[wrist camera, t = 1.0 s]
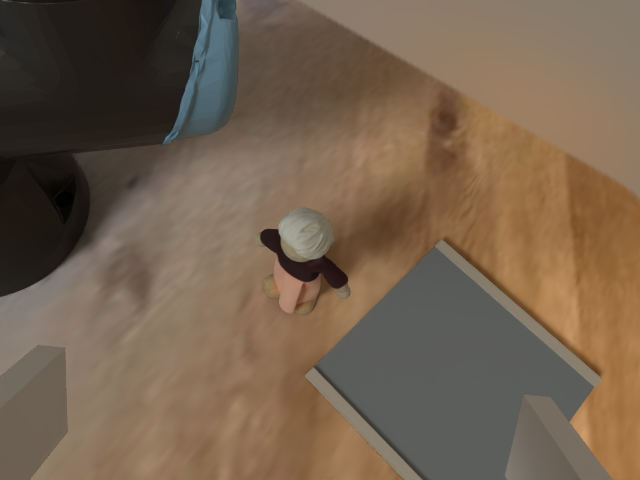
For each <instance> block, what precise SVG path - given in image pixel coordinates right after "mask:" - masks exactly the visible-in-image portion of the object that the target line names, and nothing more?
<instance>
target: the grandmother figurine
mask: <svg viewBox="0 0 640 480" xmlns="http://www.w3.org/2000/svg"><path fill="white" fill-rule="evenodd" d="M278 228H279V230H278V229H265V230H264V231H262V232H260V233H259V234H257V236H256V239H255V241H256V243H257V244H258V245H259V246H266V247H268V248H269V249H270V250H272V251H273V252H275V253H277V255H276V261H275V267H274V274H272V275H270V276H268V277H267V278H266V279H265V280H264V282H263V290H264V292H265V293H266V294H267V295H268V296H269V297H271V298H279V305H280V307H281V308H282V309H283V311H285V312H287V313H289V314H292V313H294V312H296V313H297V314H300V315H306V314H308V313H310V312H311V311H312V309H313V308H314V305H315V302H316V300H317V297H318V294H319V290H320V285H321V273H323V275H324V277H325V279H326V280H327V282H328V283H329V284H330V285H331V286H332V287H333V288H334V290H335V291H336V295H337V296H338V297H339V298H340V299H346V298H348V297H349V296H350V293H351V291H350V288H349V286H348V283H347V282H348V277H347V276H346V274H345V273H344V272H343V271H341V270H340V269H339V268H338V267H337V266H336V265H335V264H334V263H333V262H332V261H331V260H329V259H328V258H326V257H325V254H326V253H327V251H328V250H329V248H330V246H331V244H332V243H335V242H334V238H333V235H332V234H333V229H332V226H331V224H330V221H329V220H328V219H327V218H326V217H324V215H323V214H322V213H320V212H318V211H316V210H311V209H310V208H306V207H302V208H298V209H294V210H292V211H291V212H289V213H288V214H287V215H286V216H284V217H283V219H282V220H281V221H280V224H279V226H278Z"/></svg>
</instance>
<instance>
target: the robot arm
mask: <svg viewBox="0 0 640 480" xmlns="http://www.w3.org/2000/svg"><path fill="white" fill-rule="evenodd" d="M235 10H236V0H0V297H2V296H5V295H8V294H11V293H14V292H16V291H19V290H21V289H23V288H25V287H27V286H29V285H31V284H33V283H35V282H36V281H38V280H40V279H41V278H42V277H44V276H45V275H47V274H48V273H49V272H51V271H52V270H53V269H54V268H55V267H56V266H58V265H59V264H60V263H61V262H62V261H63V260H64V259H65V257H66V256H67V255H68V254H69V253H70V251H71V250H72V249H73V247H74V246H75V244H76V243H77V241H78V240H79V238H80V236H81V234H82V232H83V230H84V227H85V224H86V221H87V218H88V213H89V206H90V195H89V188H88V184H87V180H86V178H85V175H84V173H83V171H82V169H81V168H80V166H79V165H78V163H77V162H76V160H75V158H74V157H73V155H72V153H81V152H90V151H99V150H109V149H118V148H127V147H137V146H146V145H155V144H160V145H165V144H170V143H172V142H173V141H174V140H179V139H185V138H190V137H195V136H201V135H206V134H211V133H213V132H215V131H217V130H219V129H220V128H222V127H223V126H224V125H225V124H226V123H227V122H228V120H229V118H230V117H231V114H232V112H233V109H234V105H235V99H236V92H237V81H238V21H237V17H236V14H235ZM67 432H68V426H67V393H66V361H65V348H61V347H51V346H41V345H38V346H36V347H35V348H34V349H33V350H32V351H30V352H29V353H28V354H27V355H26V356H24V357H23V358H22V359H21V360H20V361H18V362H17V363H16V364H15V365H14V366H12V367H11V368H10V369H9V370H8V371H6V372H5V373H4V374H3V375H2V376H0V480H30V479H31V477H32V476H33V475H34V474H35V472H36V471H37V470H38V469H39V467H40V466H41V465H42V464H43V462H44V461H45V460H46V458H47V457H48V456H49V455H50V453H51V452H52V451H53V450H54V448H55V447H56V446H57V445H58V443H59V442H60V441H61V440H62V438H63V437H64V436H65V435H66V433H67ZM505 477H506V479H507V480H612V478H611V477H610V476H609V474H608V473H607V472H606V470H605V469H604V468H603V466H602V465H601V464H600V462H599V461H598V460H597V458H596V457H595V456H594V454H593V453H592V452H591V450H590V449H589V448H588V446H587V445H586V444H585V442H584V441H583V440H582V438H581V437H580V436H579V434H578V433H577V432H576V430H575V429H574V428H573V426H572V425H571V424H570V422H569V421H568V420H567V419H566V417H565V416H564V415H563V413H562V412H561V411H560V409H559V408H558V407H557V405H556V404H555V403H554V401H553V400H552V399H551V397H543V396H534V395H524V397H523V401H522V405H521V409H520V413H519V418H518V422H517V426H516V430H515V435H514V439H513V443H512V447H511V452H510V456H509V460H508V464H507V469H506V473H505Z"/></svg>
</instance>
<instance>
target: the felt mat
mask: <svg viewBox="0 0 640 480" xmlns="http://www.w3.org/2000/svg"><path fill="white" fill-rule="evenodd" d="M305 377H306V378H307V379H308V380H309V381H310V382H311V383H312V384H313V385H314V386H315V387H316V388H317V390H318V391H319V392H320V393H321V394H322V395H323V396H324V397H325V398H326V399H327V400H328V401H329V402H330V403H331V404H332V405H333V406H334V407H335V408H336V409H337V410H338V411H339V413H340V414H341V415H342V416H343V417H344V418H345V419H346V420H347V421H348V422H349V423H350V424H351V425H352V426H353V427H354V428H355V429H356V430H357V431H358V432H359V433H360V434H361V436H362V437H363V438H364V439H365V440H366V441H367V442H368V443H369V444H370V445H371V446H372V447H373V448H374V449H375V450H376V451H377V452H378V453H379V454H380V455H381V456H382V457H383V458H384V460H385V461H386V462H387V463H388V464H389V465H390V466H391V467H392V468H393V469H394V470H395V471H396V472H397V473H398V474H399V475H400V476H401V477H402V478H403V479H404V480H507V479H506V477H505V473H506V469H507V464H508V460H509V456H510V452H511V447H512V443H513V439H514V435H515V430H516V426H517V422H518V418H519V413H520V409H521V405H522V401H523V397H524V395H534V396H543V397H551V399H552V400H553V401H554V403H555V404H556V405H557V407H558V408H559V409H560V411H561V412H562V413H563V415H564V416H565V417H566V419H567V420H568V421H570V420H571V418H572V417H573V416H574V414H575V413H576V411H577V410H578V409H579V407H580V406H581V404H582V403H583V402H584V400H585V399H586V397H587V396H588V395H589V393H590V392H591V391H592V389H593V388H594V387H595V386H597V385H598V383H599V382H600V380H601V379H602V378H601V377H599V376H598V375H597V374H596V373H595V372H594V371H593V370H591V369H590V368H589V367H588V366H587V365H586V364H585V363H583V362H582V361H581V360H580V359H579V358H578V357H577V356H575V355H574V354H573V353H572V352H571V351H570V350H568V349H567V348H566V347H565V346H564V345H563V344H562V343H560V342H559V341H558V340H557V339H556V338H555V337H554V336H552V335H551V334H550V333H549V332H548V331H547V330H546V329H544V328H543V327H542V326H541V325H540V324H539V323H537V322H536V321H535V320H534V319H533V318H532V317H531V316H529V315H528V314H527V313H526V312H525V311H524V310H523V309H521V308H520V307H519V306H518V305H517V304H516V303H515V302H513V301H512V300H511V299H510V298H509V297H508V296H506V295H505V294H504V293H503V292H502V291H501V290H500V289H498V288H497V287H496V286H495V285H494V284H493V283H492V282H490V281H489V280H488V279H487V278H486V277H485V276H484V275H482V274H481V273H480V272H479V271H478V270H477V269H475V268H474V267H473V266H472V265H471V264H470V263H469V262H467V261H466V260H465V259H464V258H463V257H462V256H461V255H459V254H458V253H457V252H456V251H455V250H454V249H453V248H451V247H450V246H449V245H448V244H447V243H446V242H444V241H443V240H442V239H441V240H440V241H439V242H438V243H437V244H436V245H435V247H434V248H433V249H432V250H431V251H430V252H429V253H428V254H427V255H426V256H425V257H424V258H423V259H422V260H421V261H420V262H419V263H418V264H417V265H416V266H415V267H414V268H413V269H412V270H411V271H410V272H409V273H408V274H407V275H406V276H405V277H404V278H403V279H402V280H401V281H400V282H399V283H398V284H397V285H396V286H395V287H394V288H393V289H392V290H391V291H390V292H389V293H388V294H387V295H386V296H385V297H384V298H383V299H382V300H381V301H380V302H379V303H378V304H377V305H376V306H375V307H374V308H373V309H372V310H371V311H370V312H369V313H368V314H367V315H366V316H365V317H364V318H363V319H362V320H361V321H360V322H359V323H358V324H357V325H356V326H355V327H354V328H353V329H352V330H351V331H350V332H349V333H348V334H347V335H346V336H345V337H344V338H343V339H342V340H341V341H340V342H339V343H338V344H337V345H336V346H335V347H334V348H333V349H332V350H331V351H330V352H329V353H328V354H327V355H326V356H325V357H324V358H323V359H322V360H321V361H320V362H319V363H318V364H317V365H316V366H315V367H313V368H312V369H311V370H310V371H309V372H308V373H307V374H306V376H305Z"/></svg>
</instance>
